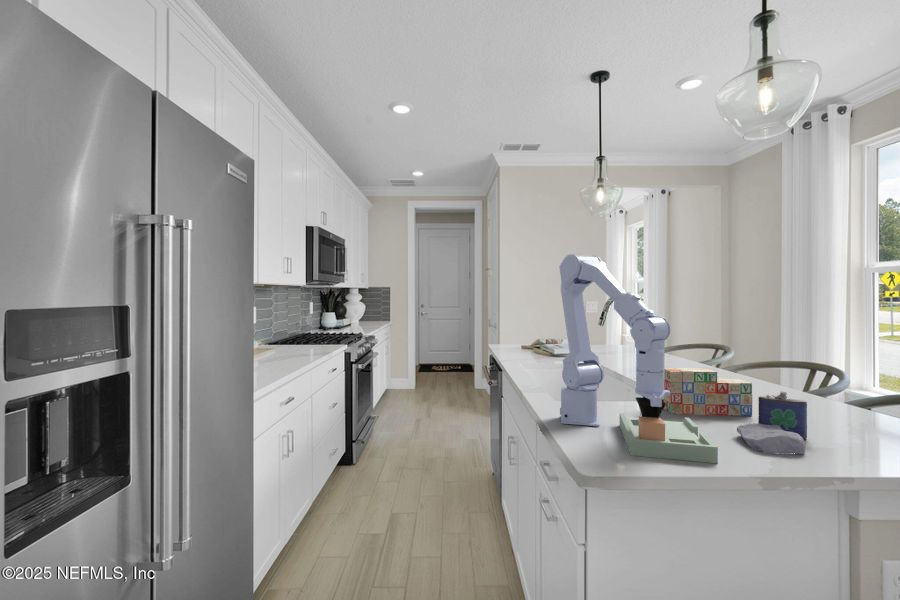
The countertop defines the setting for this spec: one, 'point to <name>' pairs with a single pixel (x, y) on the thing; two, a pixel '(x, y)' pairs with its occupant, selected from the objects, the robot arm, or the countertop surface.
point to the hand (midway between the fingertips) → (650, 431)
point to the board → (670, 441)
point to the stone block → (771, 439)
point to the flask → (784, 413)
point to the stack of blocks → (705, 393)
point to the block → (651, 429)
